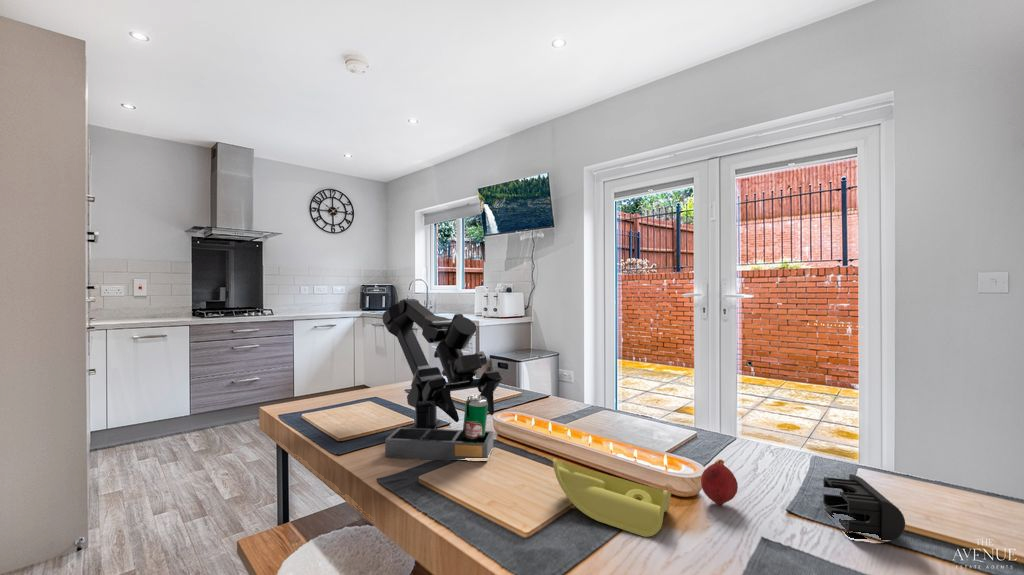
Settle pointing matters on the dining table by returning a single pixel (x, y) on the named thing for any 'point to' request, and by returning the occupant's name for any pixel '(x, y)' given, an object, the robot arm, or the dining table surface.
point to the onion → (719, 483)
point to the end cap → (863, 509)
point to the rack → (435, 444)
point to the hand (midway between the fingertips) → (475, 417)
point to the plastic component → (613, 499)
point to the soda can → (475, 419)
